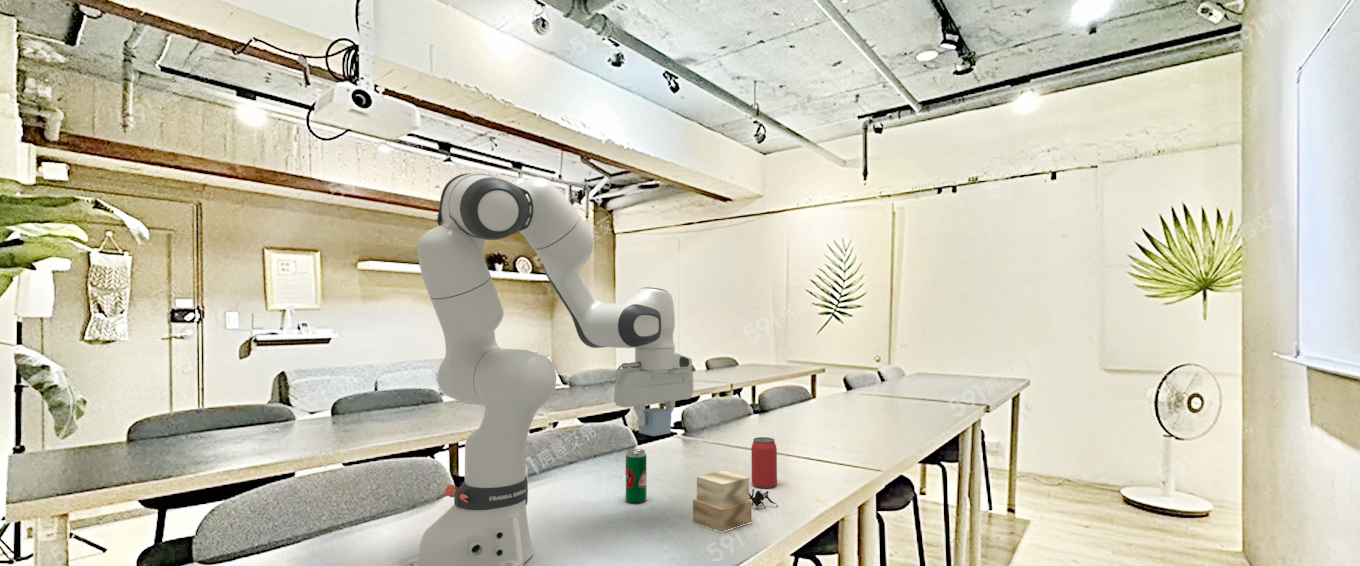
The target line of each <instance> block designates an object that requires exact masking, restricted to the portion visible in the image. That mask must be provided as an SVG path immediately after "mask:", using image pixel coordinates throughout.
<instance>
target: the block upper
mask: <svg viewBox="0 0 1360 566" xmlns="http://www.w3.org/2000/svg"><path fill="white" fill-rule="evenodd" d="M749 478H750V477H747V476H745V475H741V474H737V473H734V472H730V471H726V470H718V471H715V472H711V473H707V474H703V475H698V476H696V499H697V500H699V501H702V502H705V503H708V504H711V505H714V506H716V507H719V508H722V509H724V508H727V507H730V506H734V505H737V504H740V503H743V502H747V501H749V500H750V499H749V498H750V496H749V493H750V483H749V482H750V479H749Z"/></svg>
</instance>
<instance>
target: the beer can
mask: <svg viewBox="0 0 1360 566" xmlns="http://www.w3.org/2000/svg"><path fill="white" fill-rule="evenodd" d="M777 453H778V451H777V444H776V442H775V438H772V437H767V436H766V437H765V436H764V437H762V436H761V437H760V436H759V437H755V438H753V442H752V444H751V484H752V486H754V487H755V488H758V489H771V488H775V487H776V486H777V484H778V461H777V460H778V457H777V456H778V454H777ZM761 487H762V488H761Z"/></svg>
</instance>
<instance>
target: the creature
mask: <svg viewBox="0 0 1360 566" xmlns="http://www.w3.org/2000/svg"><path fill="white" fill-rule="evenodd" d="M762 489H763V488H762V487H761V488H760V490H757V491H756V492H755V489H754V488H753V489H752V491H751V492H752V493H750V492H749V500H750V501H751V507H752V506H753V507H754V506H756V508H758V507H759V505H762V506H763V509H764V508H765V509H767V506H766V505H765V504H764V503H763V501H764V500H765V499H767V500H768V501H769V503H771V504H774V505H776V506H777V507H778V506H779V505H778V504H777V503H776V502H774V501H772V499H770V497H769V490H767V491H765V492H764V493H762ZM754 494H755V495H754Z"/></svg>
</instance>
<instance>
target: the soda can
mask: <svg viewBox="0 0 1360 566" xmlns="http://www.w3.org/2000/svg"><path fill="white" fill-rule="evenodd" d="M647 486H648V485H647V453H646V451H645V449H641V448H631V449H628V450H627V451H626V454H625V500H626V502H628V503H629V504H642V503H644V502H645V501H646V500H647V492H648V491H647Z"/></svg>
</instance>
